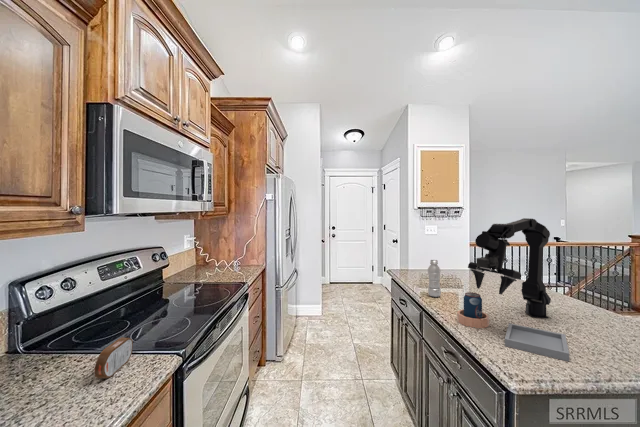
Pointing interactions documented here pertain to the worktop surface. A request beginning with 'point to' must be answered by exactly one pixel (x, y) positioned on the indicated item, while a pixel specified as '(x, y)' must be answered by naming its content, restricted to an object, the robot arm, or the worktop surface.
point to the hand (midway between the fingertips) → (488, 291)
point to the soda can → (473, 305)
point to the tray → (537, 341)
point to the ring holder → (473, 320)
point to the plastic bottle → (434, 279)
